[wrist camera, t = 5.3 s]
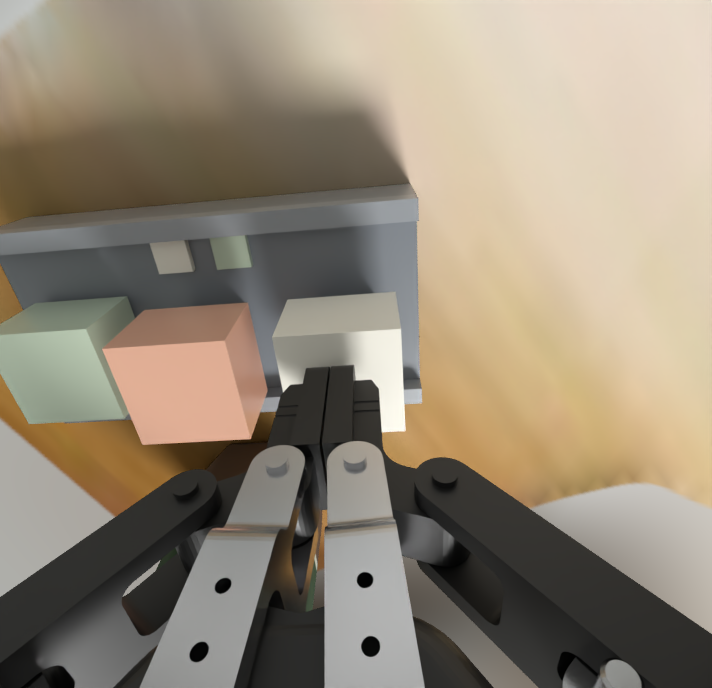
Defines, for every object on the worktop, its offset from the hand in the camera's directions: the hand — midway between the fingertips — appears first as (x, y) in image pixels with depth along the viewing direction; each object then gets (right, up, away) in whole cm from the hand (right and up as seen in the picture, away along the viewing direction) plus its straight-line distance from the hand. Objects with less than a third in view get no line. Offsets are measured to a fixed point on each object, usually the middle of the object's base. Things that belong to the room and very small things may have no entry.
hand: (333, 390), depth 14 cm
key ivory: (0, +1, +3) cm, 4 cm away
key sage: (-11, +2, +5) cm, 12 cm away
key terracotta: (-5, +1, +4) cm, 6 cm away
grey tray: (-5, +4, +7) cm, 10 cm away
